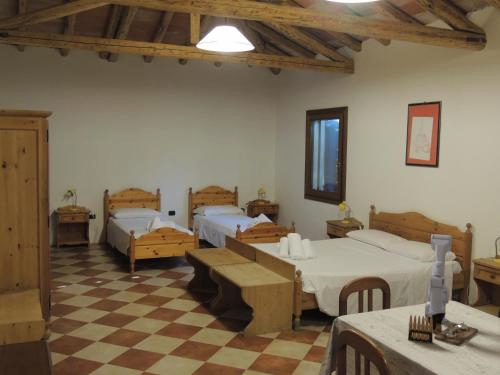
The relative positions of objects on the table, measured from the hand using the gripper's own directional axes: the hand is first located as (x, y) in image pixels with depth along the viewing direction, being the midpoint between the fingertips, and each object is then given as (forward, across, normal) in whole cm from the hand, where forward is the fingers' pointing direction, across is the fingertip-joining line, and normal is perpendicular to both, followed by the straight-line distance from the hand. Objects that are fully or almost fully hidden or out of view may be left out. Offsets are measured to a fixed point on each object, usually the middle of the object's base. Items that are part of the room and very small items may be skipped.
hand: (435, 328), depth 245 cm
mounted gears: (0, +2, -9) cm, 10 cm away
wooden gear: (+1, 0, 0) cm, 1 cm away
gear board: (+1, +2, -10) cm, 10 cm away
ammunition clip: (+2, -17, 0) cm, 17 cm away
